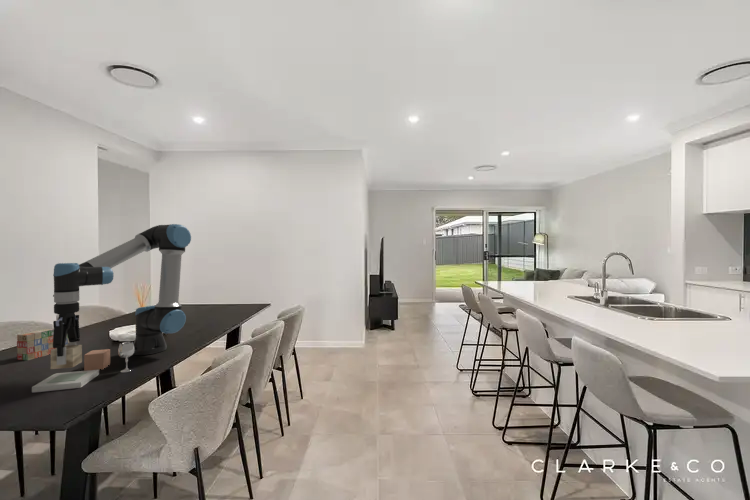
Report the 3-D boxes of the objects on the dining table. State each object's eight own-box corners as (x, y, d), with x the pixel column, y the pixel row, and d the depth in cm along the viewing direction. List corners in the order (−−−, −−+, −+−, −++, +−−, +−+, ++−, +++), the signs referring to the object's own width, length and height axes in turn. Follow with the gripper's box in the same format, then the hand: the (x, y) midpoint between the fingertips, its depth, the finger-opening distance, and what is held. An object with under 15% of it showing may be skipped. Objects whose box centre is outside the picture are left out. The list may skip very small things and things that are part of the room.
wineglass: (138, 369, 155) (137, 341, 155) (124, 373, 149) (124, 345, 149) (128, 367, 156) (128, 340, 156) (115, 372, 151) (114, 343, 151)
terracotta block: (110, 364, 162) (110, 349, 162) (103, 369, 155) (103, 353, 155) (92, 366, 160) (91, 350, 160) (84, 371, 153) (84, 354, 153)
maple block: (82, 361, 143) (81, 344, 143) (72, 367, 137) (72, 349, 137) (60, 363, 141) (60, 345, 141) (50, 369, 135) (50, 350, 135)
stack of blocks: (64, 347, 191) (64, 324, 190) (73, 348, 189) (73, 325, 189) (16, 360, 170) (16, 334, 170) (27, 360, 168) (26, 334, 168)
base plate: (99, 374, 149) (98, 369, 149) (81, 387, 134) (81, 381, 134) (55, 378, 144) (55, 372, 144) (31, 392, 130) (31, 386, 130)
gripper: (68, 299, 148) (68, 355, 148) (39, 306, 128) (39, 370, 128) (90, 298, 150) (90, 353, 150) (64, 305, 131) (64, 368, 131)
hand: (67, 361), depth 139 cm, fingers closed on maple block, 7 cm apart
